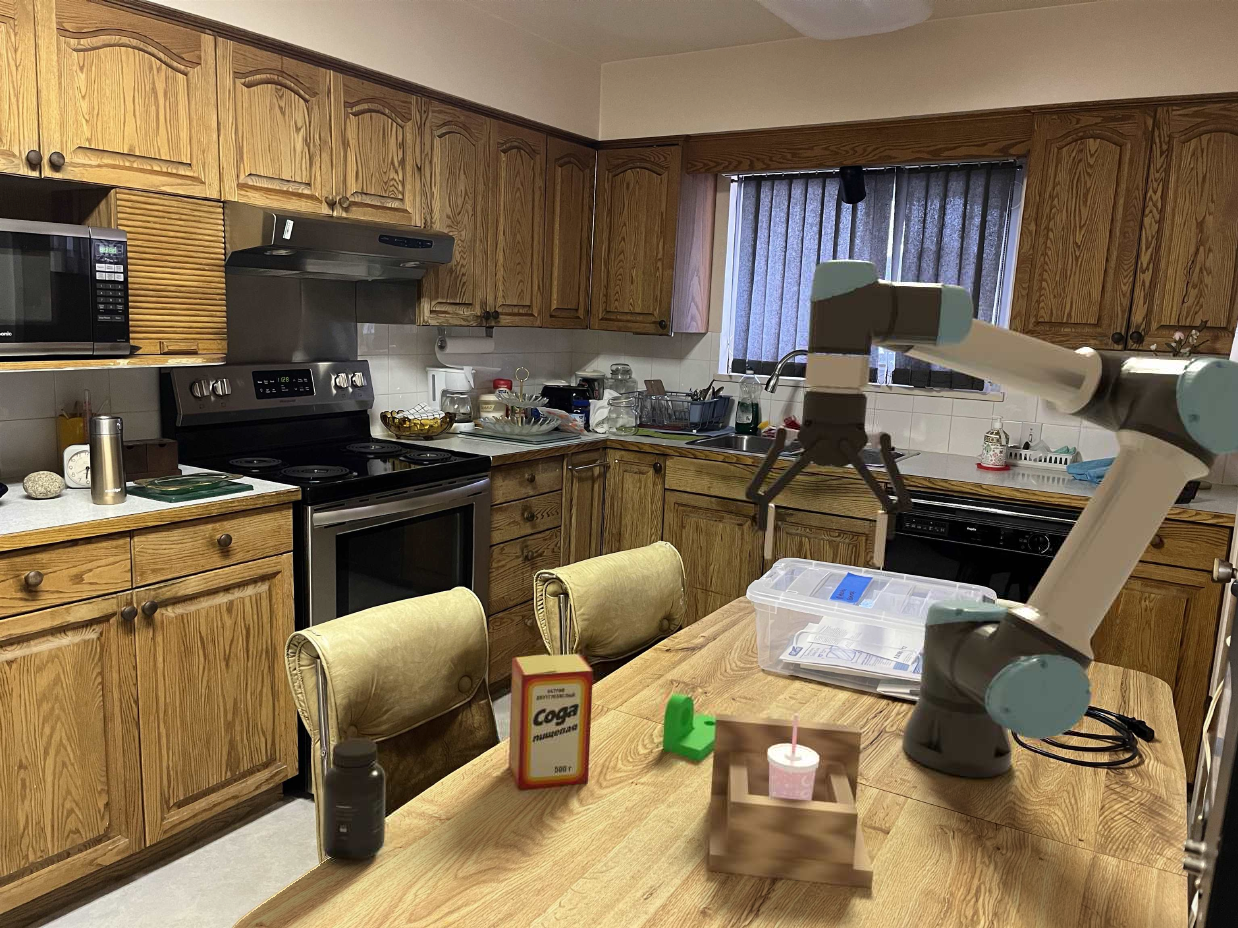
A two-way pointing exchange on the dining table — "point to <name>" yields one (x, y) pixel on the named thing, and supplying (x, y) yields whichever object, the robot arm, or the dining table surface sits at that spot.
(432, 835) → the dining table surface
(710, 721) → the mechanical part
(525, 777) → the baking soda box
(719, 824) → the wooden caddy with backboard
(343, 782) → the supplement bottle
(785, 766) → the beverage cup
